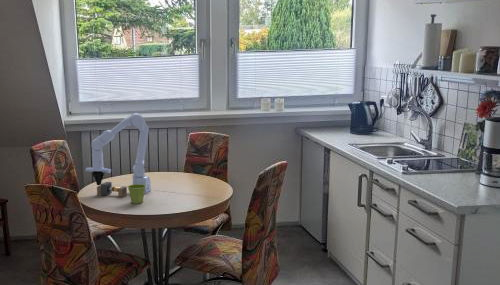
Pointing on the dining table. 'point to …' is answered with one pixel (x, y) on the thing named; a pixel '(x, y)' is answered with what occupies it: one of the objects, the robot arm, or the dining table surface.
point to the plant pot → (136, 193)
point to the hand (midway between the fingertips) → (98, 184)
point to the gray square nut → (105, 188)
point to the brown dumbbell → (114, 190)
